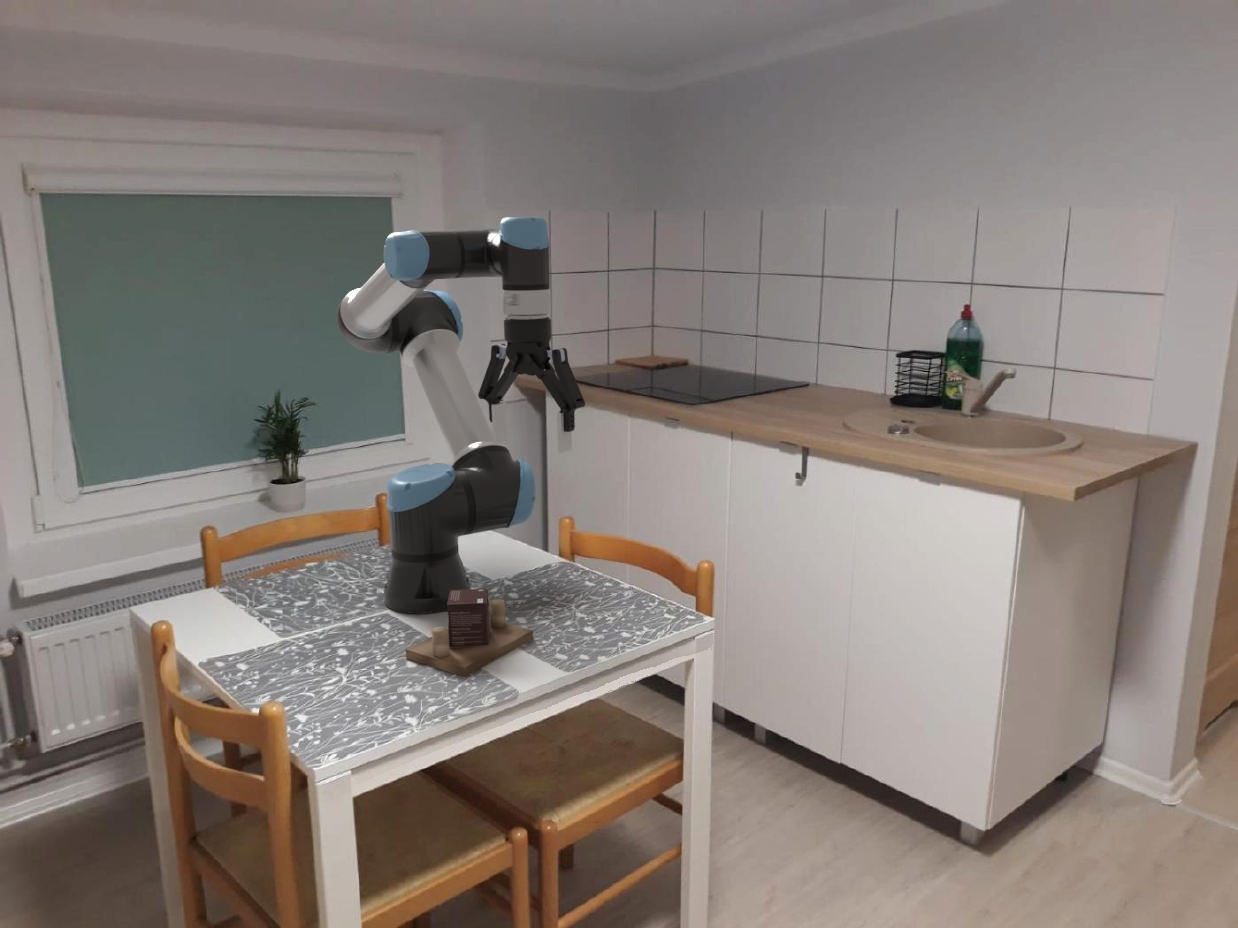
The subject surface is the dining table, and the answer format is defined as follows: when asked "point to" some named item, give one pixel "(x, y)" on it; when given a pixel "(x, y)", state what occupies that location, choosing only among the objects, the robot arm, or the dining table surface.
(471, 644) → the box
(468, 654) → the rack board
